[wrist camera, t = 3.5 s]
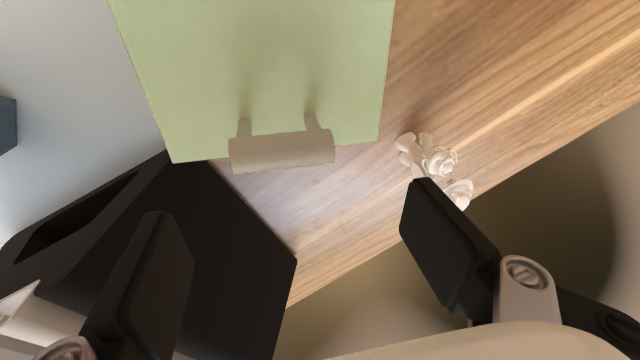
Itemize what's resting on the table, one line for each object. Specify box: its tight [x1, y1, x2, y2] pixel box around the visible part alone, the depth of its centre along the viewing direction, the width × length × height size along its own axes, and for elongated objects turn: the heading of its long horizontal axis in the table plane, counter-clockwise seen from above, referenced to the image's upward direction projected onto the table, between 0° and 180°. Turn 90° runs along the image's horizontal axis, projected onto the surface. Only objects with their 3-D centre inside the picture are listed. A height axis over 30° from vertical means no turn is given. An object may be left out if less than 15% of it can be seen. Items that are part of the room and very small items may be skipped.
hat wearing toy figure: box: [395, 131, 473, 211], centre depth 27 cm, size 9×4×12 cm, turn 19°
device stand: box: [0, 149, 297, 360], centre depth 27 cm, size 22×22×15 cm
